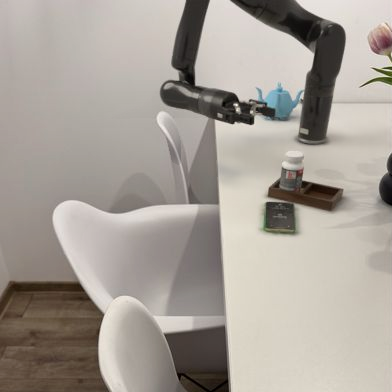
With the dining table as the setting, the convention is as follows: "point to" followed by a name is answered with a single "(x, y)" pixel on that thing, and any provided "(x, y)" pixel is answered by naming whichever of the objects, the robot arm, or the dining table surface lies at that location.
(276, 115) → the teapot
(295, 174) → the pill bottle
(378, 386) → the dining table surface
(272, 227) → the smartphone
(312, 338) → the dining table surface
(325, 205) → the tray
